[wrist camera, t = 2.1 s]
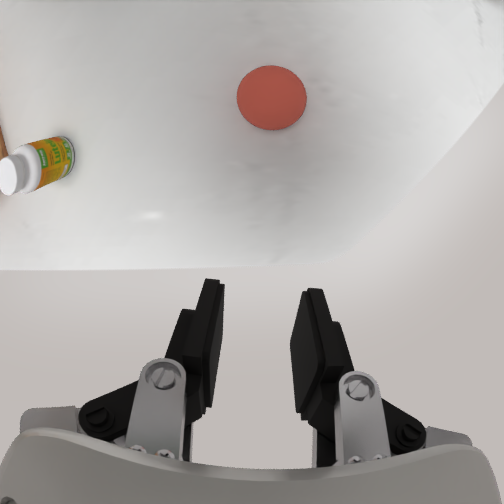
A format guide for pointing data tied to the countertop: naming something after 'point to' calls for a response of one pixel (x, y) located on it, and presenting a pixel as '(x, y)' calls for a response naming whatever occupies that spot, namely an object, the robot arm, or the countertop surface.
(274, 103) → the ball
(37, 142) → the supplement bottle
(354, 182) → the countertop surface
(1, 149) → the wooden box
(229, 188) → the countertop surface
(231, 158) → the countertop surface
